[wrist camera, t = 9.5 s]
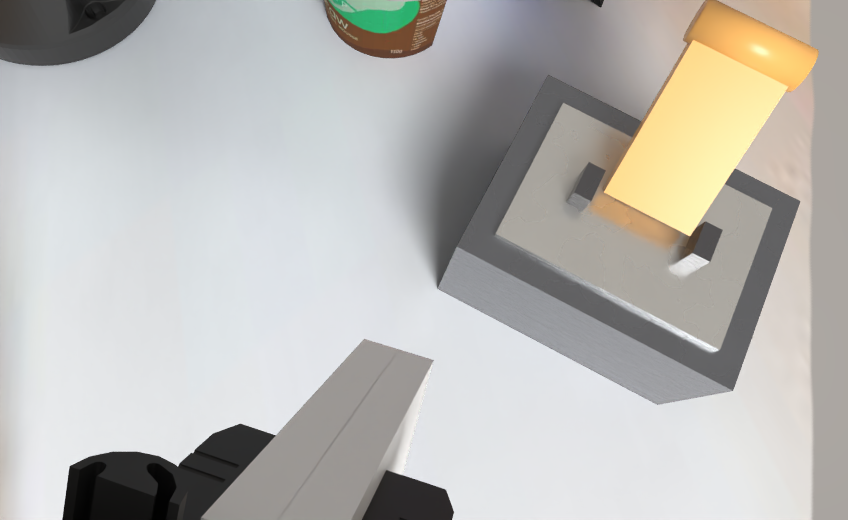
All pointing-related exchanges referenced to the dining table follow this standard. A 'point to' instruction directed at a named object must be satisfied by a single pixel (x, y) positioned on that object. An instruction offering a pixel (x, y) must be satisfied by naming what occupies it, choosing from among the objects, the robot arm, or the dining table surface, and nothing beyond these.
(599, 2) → the alarm clock
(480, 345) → the dining table surface
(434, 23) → the food container
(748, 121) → the lever
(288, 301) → the dining table surface
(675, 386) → the box
